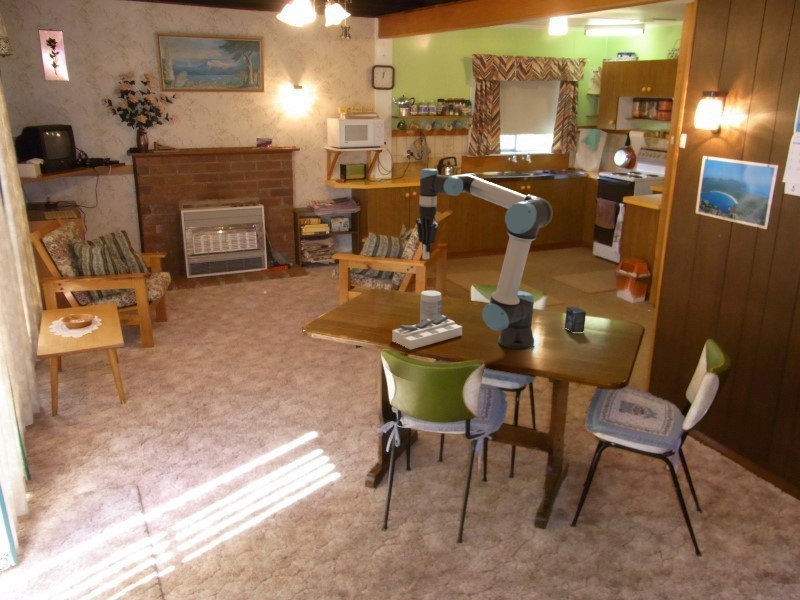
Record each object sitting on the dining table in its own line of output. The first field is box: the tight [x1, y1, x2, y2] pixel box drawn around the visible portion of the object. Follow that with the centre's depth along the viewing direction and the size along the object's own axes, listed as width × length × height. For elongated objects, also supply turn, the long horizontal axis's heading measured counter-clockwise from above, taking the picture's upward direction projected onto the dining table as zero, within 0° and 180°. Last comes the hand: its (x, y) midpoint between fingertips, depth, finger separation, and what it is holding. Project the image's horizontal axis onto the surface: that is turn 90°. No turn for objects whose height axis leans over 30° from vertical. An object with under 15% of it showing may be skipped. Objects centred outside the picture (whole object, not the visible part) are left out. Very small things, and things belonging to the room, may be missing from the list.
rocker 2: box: [415, 318, 433, 329], centre depth 301 cm, size 3×7×2 cm, turn 130°
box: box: [564, 306, 587, 332], centre depth 314 cm, size 8×6×11 cm
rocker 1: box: [399, 324, 417, 331], centre depth 295 cm, size 3×7×2 cm, turn 130°
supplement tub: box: [419, 290, 442, 323], centre depth 318 cm, size 10×10×15 cm
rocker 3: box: [433, 314, 449, 325], centre depth 307 cm, size 3×7×2 cm, turn 130°
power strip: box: [391, 318, 464, 350], centre depth 302 cm, size 12×36×5 cm, turn 130°
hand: (425, 258), depth 304 cm, fingers closed
